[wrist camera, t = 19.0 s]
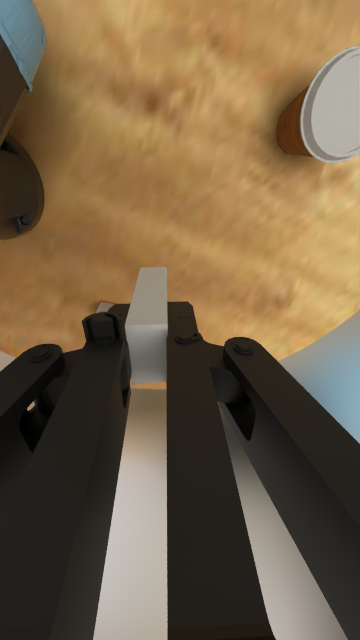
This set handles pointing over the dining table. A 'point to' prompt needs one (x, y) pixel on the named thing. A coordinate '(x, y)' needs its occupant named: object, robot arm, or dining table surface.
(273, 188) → the dining table surface
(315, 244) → the dining table surface
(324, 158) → the disposable coffee cup
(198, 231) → the dining table surface
